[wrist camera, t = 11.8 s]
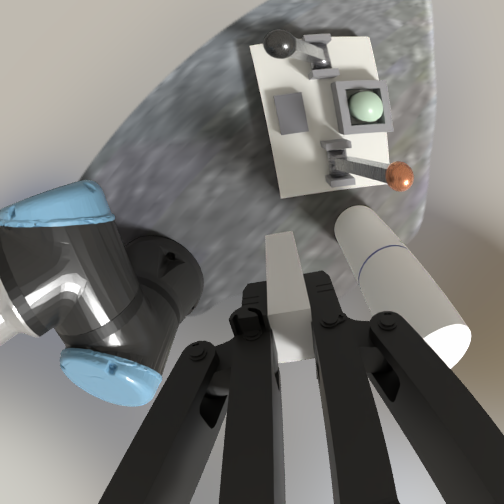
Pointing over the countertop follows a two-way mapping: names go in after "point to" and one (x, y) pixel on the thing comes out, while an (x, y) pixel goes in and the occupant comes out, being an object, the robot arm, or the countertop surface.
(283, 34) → the lever
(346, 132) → the panel
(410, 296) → the cylindrical container
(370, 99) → the button
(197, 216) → the countertop surface
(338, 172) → the lever
